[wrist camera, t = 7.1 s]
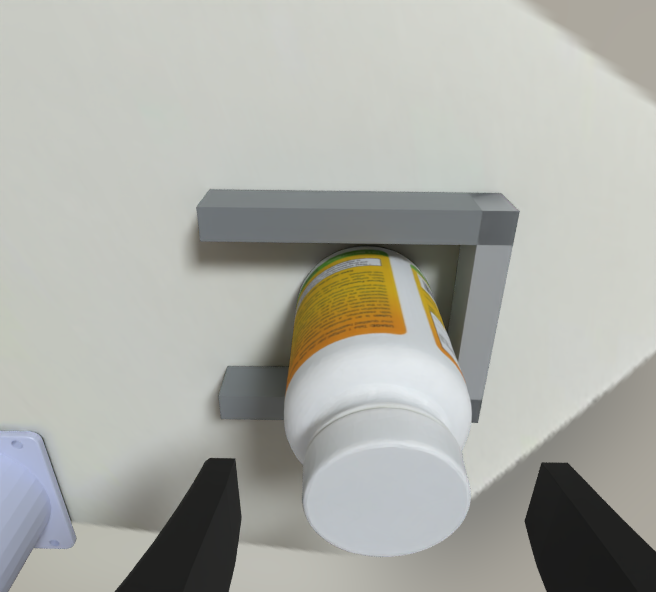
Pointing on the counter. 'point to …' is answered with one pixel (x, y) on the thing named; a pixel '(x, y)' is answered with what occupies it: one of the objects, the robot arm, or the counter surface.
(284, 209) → the gray u-shaped bracket
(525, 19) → the counter surface
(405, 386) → the supplement bottle
